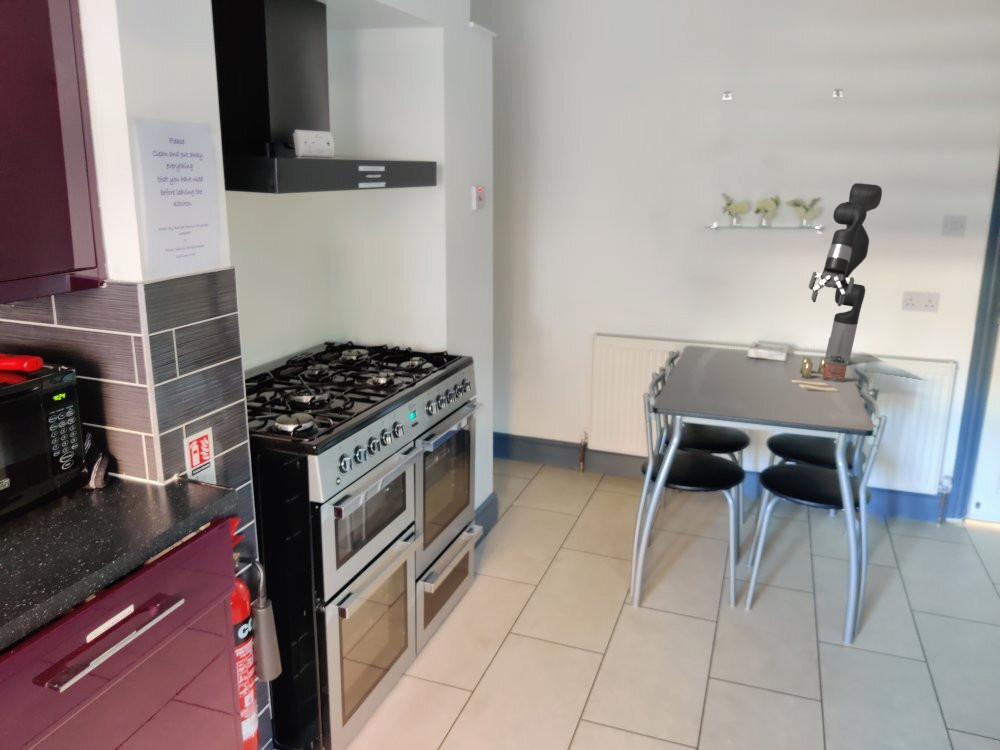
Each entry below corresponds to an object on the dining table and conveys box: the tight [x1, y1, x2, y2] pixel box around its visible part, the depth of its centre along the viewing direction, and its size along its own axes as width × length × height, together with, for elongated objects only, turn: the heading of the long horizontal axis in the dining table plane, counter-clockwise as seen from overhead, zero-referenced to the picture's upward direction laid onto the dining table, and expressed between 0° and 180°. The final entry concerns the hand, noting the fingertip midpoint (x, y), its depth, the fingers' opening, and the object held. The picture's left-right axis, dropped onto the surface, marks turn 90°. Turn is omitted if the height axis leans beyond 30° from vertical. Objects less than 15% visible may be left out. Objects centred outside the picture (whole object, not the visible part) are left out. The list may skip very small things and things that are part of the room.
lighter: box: [821, 355, 849, 383], centre depth 310 cm, size 8×3×10 cm, turn 84°
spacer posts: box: [799, 356, 829, 380], centre depth 316 cm, size 11×14×6 cm
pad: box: [791, 379, 839, 393], centre depth 300 cm, size 12×12×1 cm
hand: (826, 303), depth 288 cm, fingers open, 8 cm apart
